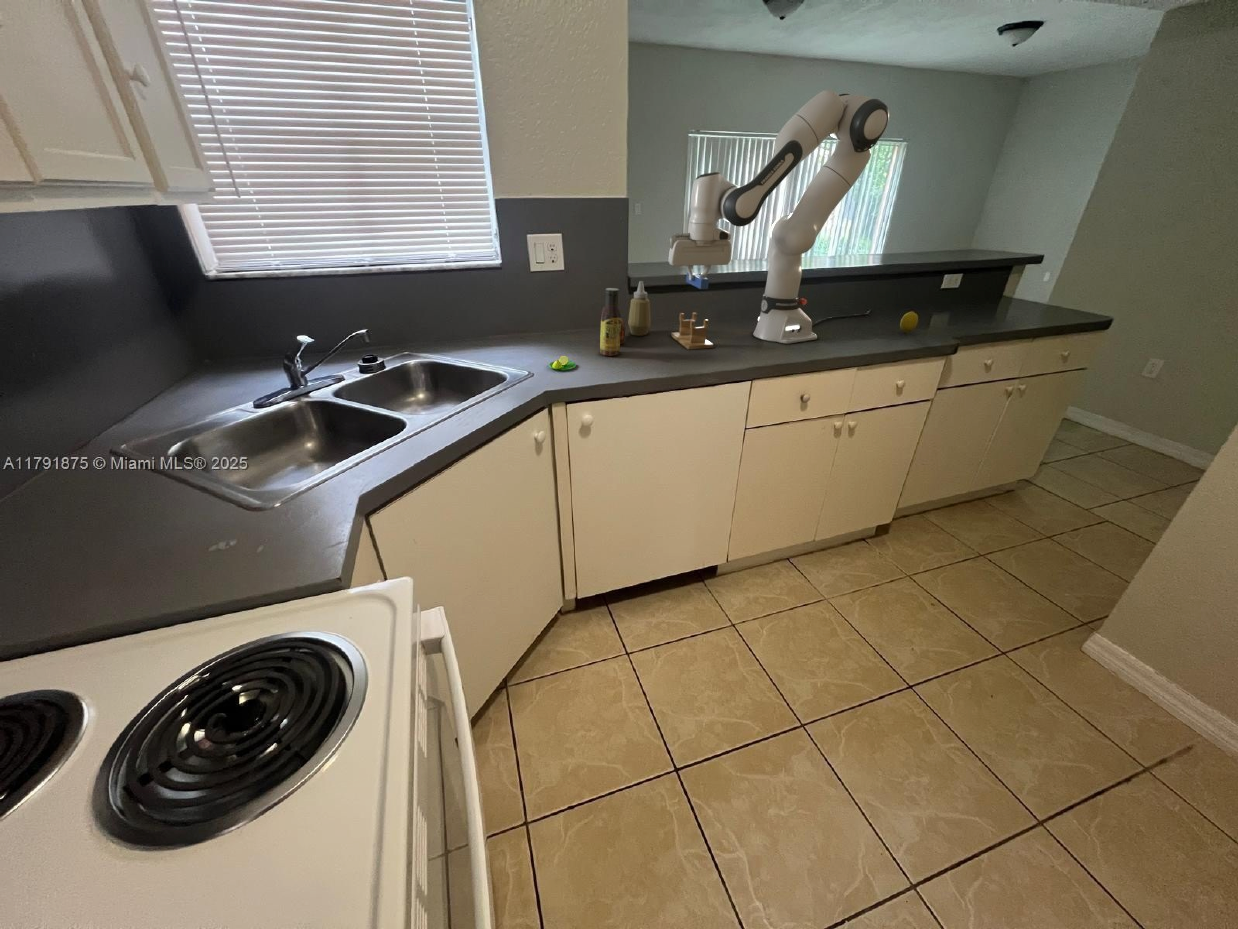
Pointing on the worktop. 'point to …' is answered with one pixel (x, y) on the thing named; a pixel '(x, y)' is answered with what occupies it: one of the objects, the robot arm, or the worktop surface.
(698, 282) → the handle
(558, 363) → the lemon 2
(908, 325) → the lemon
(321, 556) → the worktop surface
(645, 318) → the squeeze bottle
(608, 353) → the sauce bottle
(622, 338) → the tin
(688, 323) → the holder
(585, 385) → the worktop surface
